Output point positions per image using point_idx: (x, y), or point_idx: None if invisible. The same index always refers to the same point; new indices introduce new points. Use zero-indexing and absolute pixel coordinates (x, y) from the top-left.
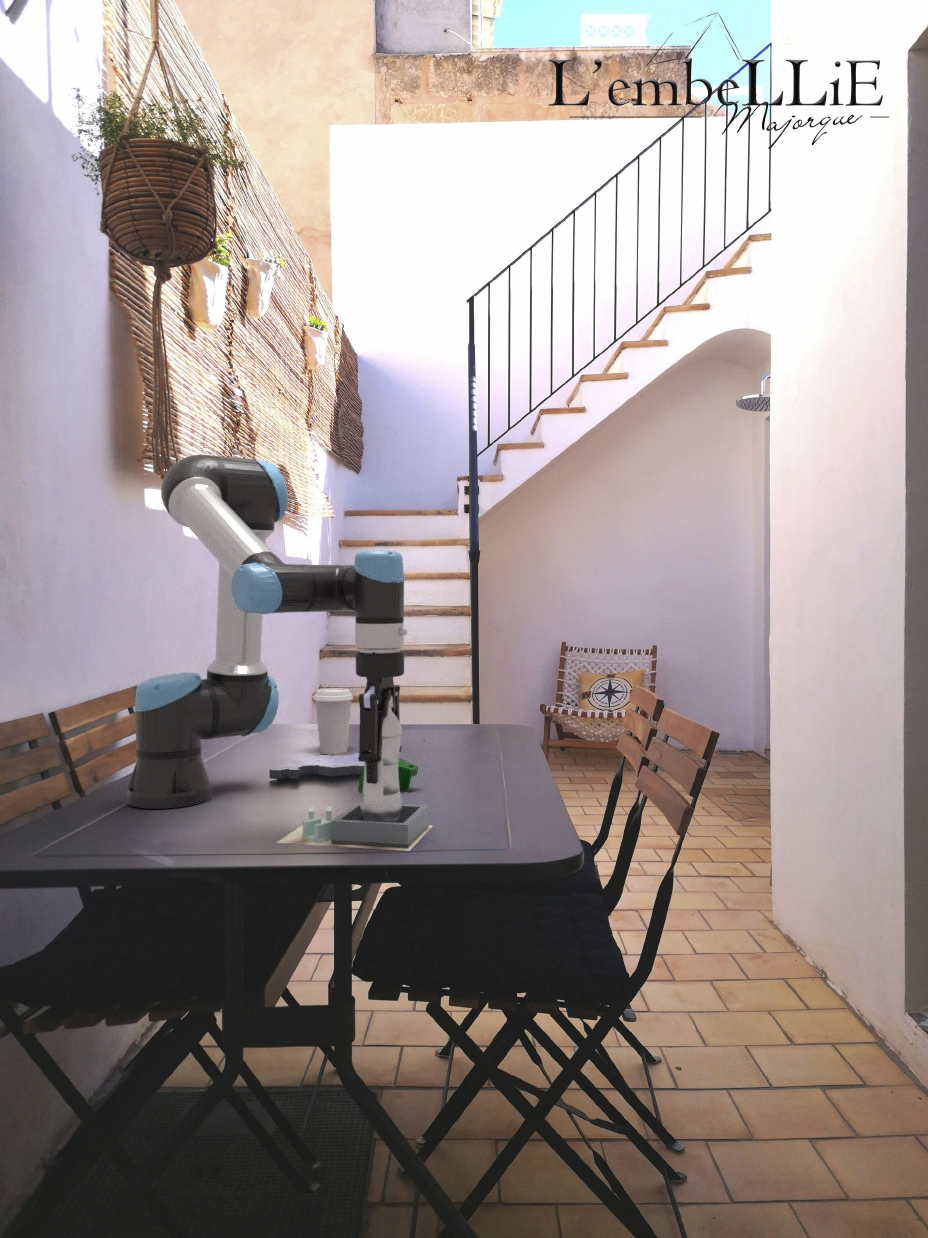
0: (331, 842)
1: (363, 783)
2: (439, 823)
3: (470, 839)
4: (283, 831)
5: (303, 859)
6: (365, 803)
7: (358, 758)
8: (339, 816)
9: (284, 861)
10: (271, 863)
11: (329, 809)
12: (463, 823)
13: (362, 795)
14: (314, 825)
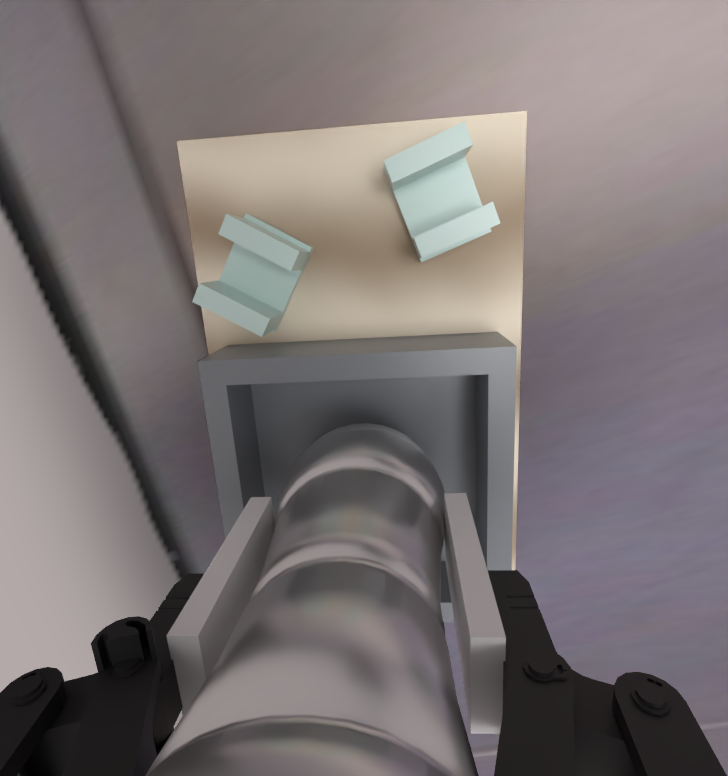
0: (242, 338)
1: (314, 499)
2: (616, 561)
3: (454, 671)
4: (408, 41)
5: (129, 292)
6: (252, 499)
7: (96, 636)
8: (266, 366)
9: (89, 242)
10: (56, 210)
11: (443, 238)
12: (626, 625)
13: (309, 473)
14: (198, 286)
